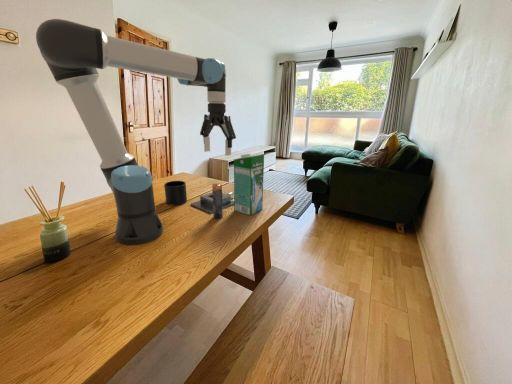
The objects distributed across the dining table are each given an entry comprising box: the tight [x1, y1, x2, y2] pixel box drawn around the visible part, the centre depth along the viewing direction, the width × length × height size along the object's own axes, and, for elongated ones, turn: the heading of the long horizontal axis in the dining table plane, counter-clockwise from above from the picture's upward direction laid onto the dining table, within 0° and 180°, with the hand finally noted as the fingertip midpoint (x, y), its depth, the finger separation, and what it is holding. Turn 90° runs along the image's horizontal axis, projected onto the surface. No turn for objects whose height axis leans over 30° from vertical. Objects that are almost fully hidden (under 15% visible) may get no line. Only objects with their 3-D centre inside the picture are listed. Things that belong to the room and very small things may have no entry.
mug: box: [164, 180, 188, 206], centre depth 116 cm, size 9×12×9 cm
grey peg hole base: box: [190, 191, 234, 214], centre depth 116 cm, size 22×14×4 cm, turn 139°
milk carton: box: [233, 153, 265, 217], centre depth 105 cm, size 9×9×25 cm
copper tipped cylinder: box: [211, 182, 224, 220], centre depth 99 cm, size 4×4×14 cm
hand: (217, 153), depth 110 cm, fingers open, 13 cm apart
